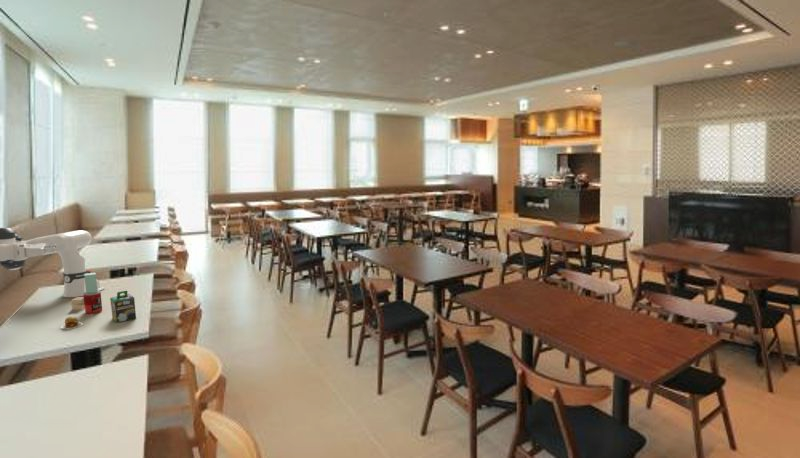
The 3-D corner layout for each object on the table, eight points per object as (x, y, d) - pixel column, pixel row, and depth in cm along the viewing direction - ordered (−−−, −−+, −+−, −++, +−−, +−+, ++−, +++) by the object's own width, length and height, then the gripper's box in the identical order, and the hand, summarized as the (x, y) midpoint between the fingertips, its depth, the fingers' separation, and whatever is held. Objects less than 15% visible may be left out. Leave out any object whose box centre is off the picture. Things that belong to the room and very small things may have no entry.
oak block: (77, 307, 253) (76, 297, 252) (87, 307, 254) (86, 296, 253) (72, 310, 248) (71, 299, 248) (82, 310, 249) (81, 299, 248)
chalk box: (131, 314, 241) (129, 287, 239) (136, 318, 235) (134, 290, 233) (111, 318, 235) (109, 291, 233) (116, 323, 228) (113, 294, 226)
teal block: (86, 291, 245) (84, 273, 244) (97, 290, 248) (95, 272, 247) (86, 293, 241) (84, 275, 240) (97, 292, 244) (95, 274, 243)
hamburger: (77, 322, 232) (76, 311, 231) (92, 325, 227) (91, 314, 226) (51, 329, 221) (50, 318, 220) (65, 333, 216) (64, 322, 215)
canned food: (94, 314, 242) (92, 294, 240) (81, 313, 243) (79, 293, 242) (106, 310, 249) (104, 290, 248) (93, 309, 251) (91, 289, 249)
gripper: (25, 253, 243) (57, 250, 251) (20, 259, 227) (55, 256, 234) (23, 241, 242) (56, 239, 250) (19, 247, 226) (54, 244, 233)
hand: (55, 247), depth 242 cm, fingers open, 8 cm apart
